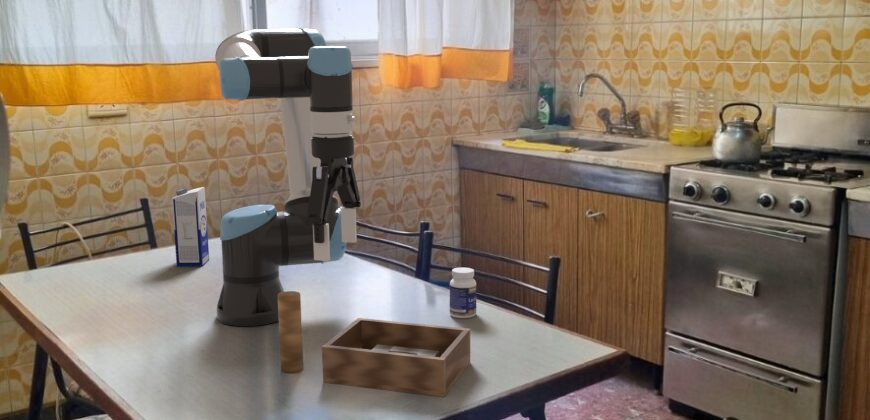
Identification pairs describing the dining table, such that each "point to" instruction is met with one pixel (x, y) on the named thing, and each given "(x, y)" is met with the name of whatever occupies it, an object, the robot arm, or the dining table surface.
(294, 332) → the dowel
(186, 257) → the milk carton
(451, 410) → the dining table surface
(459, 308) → the pill bottle
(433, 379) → the box
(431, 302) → the dining table surface
